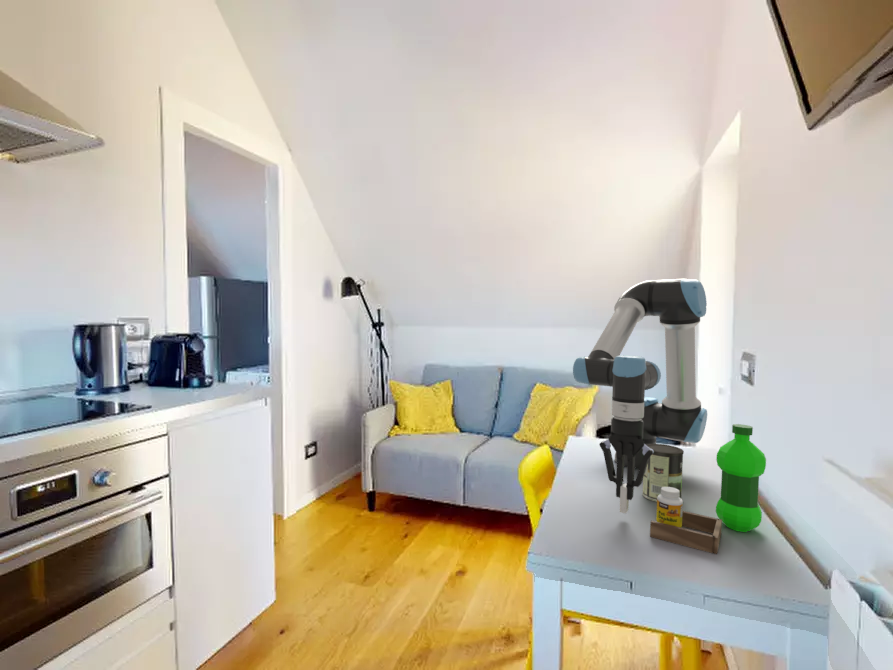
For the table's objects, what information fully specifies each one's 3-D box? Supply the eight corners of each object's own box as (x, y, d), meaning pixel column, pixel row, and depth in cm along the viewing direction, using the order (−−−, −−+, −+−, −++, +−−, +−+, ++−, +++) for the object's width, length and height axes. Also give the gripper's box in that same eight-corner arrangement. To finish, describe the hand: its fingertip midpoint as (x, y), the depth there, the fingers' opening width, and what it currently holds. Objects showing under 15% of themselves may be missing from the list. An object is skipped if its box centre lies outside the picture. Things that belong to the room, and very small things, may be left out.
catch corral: (659, 519, 119) (660, 505, 119) (721, 534, 111) (722, 519, 111) (649, 536, 109) (650, 521, 109) (717, 554, 101) (717, 538, 101)
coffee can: (675, 492, 138) (677, 444, 138) (686, 505, 128) (688, 454, 128) (638, 489, 140) (640, 442, 140) (646, 502, 130) (648, 451, 130)
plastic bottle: (744, 518, 120) (749, 421, 120) (773, 537, 110) (778, 431, 109) (705, 517, 120) (709, 420, 120) (730, 536, 110) (735, 430, 109)
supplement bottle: (653, 532, 111) (654, 489, 111) (658, 524, 116) (660, 483, 115) (679, 539, 108) (680, 495, 107) (683, 531, 112) (685, 488, 112)
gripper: (596, 416, 118) (593, 509, 118) (652, 424, 110) (648, 523, 111) (605, 412, 124) (601, 500, 125) (658, 418, 117) (654, 512, 117)
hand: (623, 510), depth 118 cm, fingers closed
